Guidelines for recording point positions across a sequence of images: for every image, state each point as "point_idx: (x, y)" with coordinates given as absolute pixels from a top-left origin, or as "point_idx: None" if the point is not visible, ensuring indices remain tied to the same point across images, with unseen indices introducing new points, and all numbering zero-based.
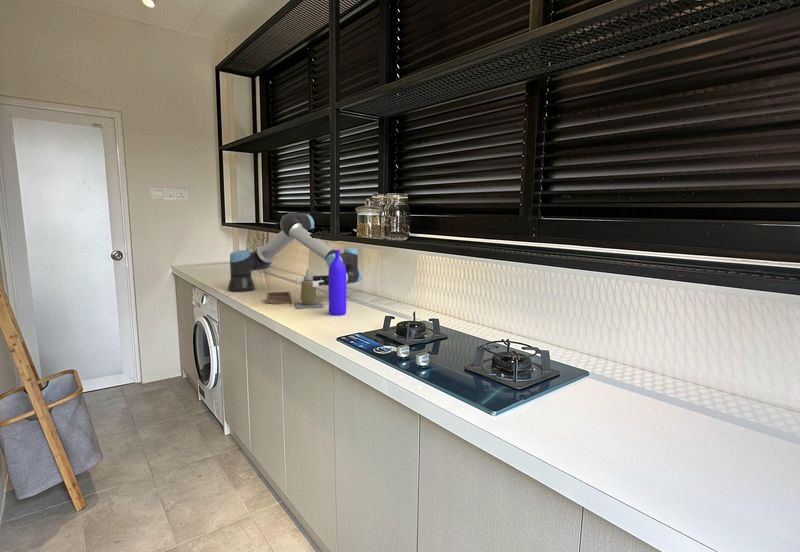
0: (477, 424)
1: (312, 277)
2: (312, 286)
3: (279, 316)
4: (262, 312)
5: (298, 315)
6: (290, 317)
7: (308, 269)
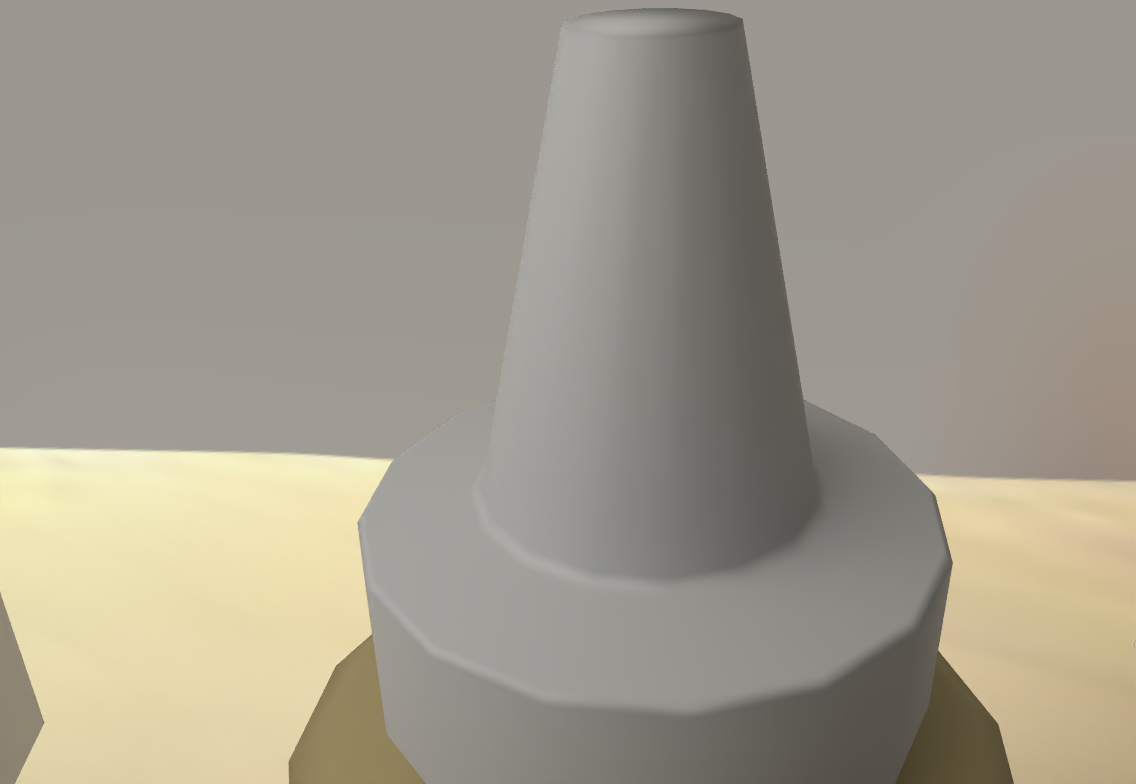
0: None
1: (394, 648)
2: (31, 710)
3: (263, 517)
4: None
5: (49, 680)
6: (82, 574)
7: (567, 25)
